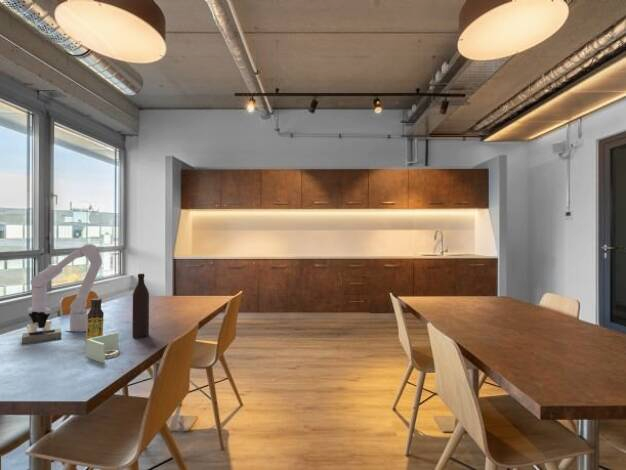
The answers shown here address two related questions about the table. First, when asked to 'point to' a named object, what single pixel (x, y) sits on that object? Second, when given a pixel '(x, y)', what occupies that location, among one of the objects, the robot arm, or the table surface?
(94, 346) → the l-shaped corner panel
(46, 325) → the clip
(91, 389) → the table surface
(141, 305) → the wine bottle
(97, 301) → the sauce bottle
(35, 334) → the grey slotted block
